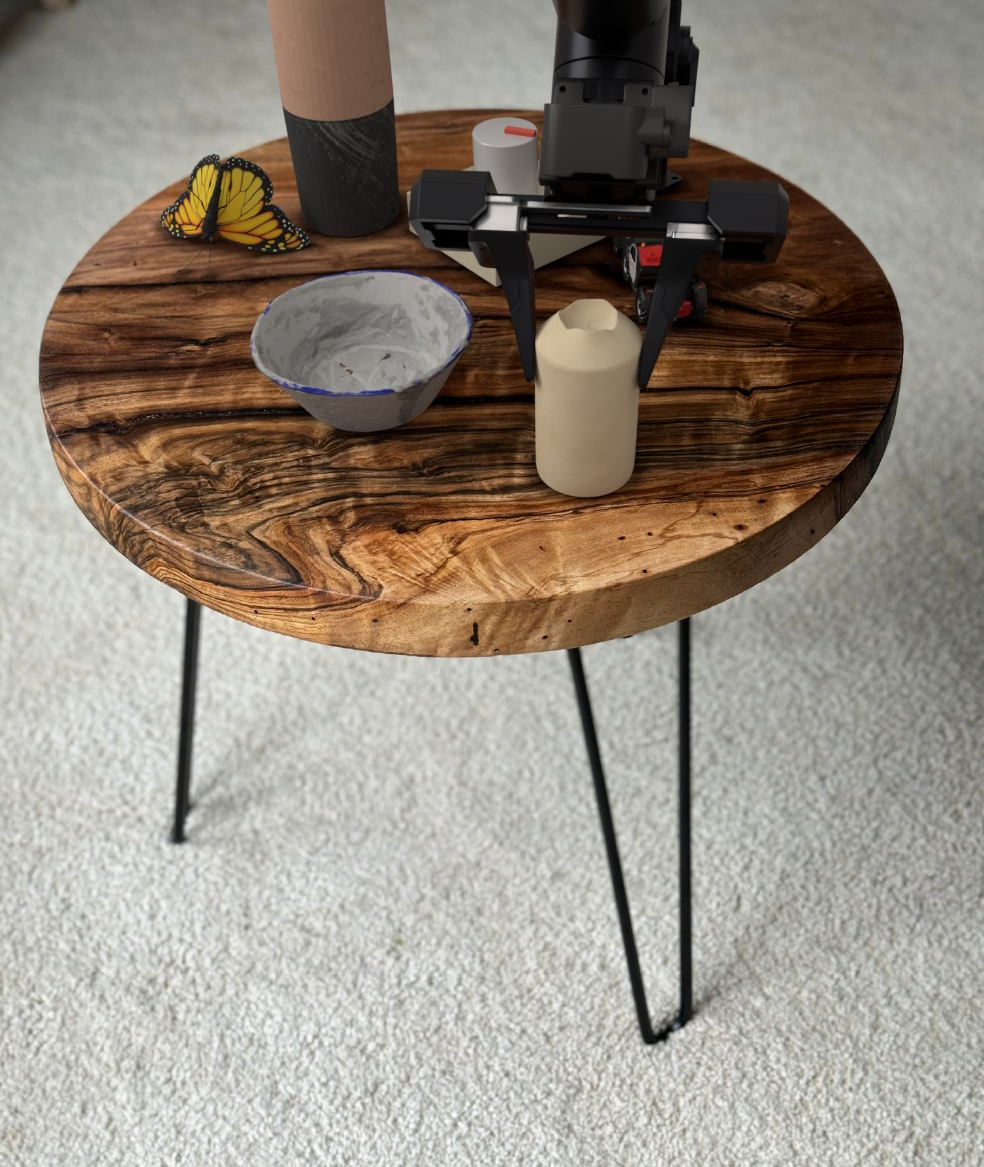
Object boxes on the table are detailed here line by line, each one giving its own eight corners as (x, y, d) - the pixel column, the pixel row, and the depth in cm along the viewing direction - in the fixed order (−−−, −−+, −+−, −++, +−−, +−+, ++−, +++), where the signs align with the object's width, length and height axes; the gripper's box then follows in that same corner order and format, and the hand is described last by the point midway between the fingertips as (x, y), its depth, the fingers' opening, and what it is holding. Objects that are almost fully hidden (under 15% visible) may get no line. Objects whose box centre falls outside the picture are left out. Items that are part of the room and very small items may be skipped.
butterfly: (266, 285, 82) (295, 305, 87) (295, 157, 82) (322, 184, 87) (110, 257, 85) (146, 278, 90) (138, 133, 85) (173, 161, 90)
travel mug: (414, 191, 92) (391, -102, 78) (388, 243, 87) (358, -62, 73) (316, 184, 94) (276, -106, 79) (285, 235, 88) (236, -66, 74)
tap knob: (465, 203, 85) (461, 136, 81) (488, 175, 87) (486, 108, 84) (524, 214, 83) (524, 146, 80) (547, 184, 86) (547, 117, 83)
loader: (609, 243, 86) (612, 180, 83) (674, 238, 86) (679, 175, 83) (640, 340, 78) (645, 274, 74) (712, 335, 78) (720, 268, 75)
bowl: (477, 328, 79) (474, 261, 76) (475, 456, 70) (472, 387, 67) (276, 333, 79) (264, 267, 76) (249, 461, 70) (234, 392, 67)
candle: (627, 504, 67) (637, 350, 60) (527, 492, 68) (525, 339, 61) (639, 440, 71) (650, 288, 63) (544, 430, 71) (544, 279, 64)
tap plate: (517, 186, 93) (516, 145, 90) (607, 237, 87) (608, 195, 85) (409, 230, 88) (405, 189, 86) (496, 287, 83) (494, 245, 80)
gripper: (399, 5, 56) (374, 347, 57) (816, 14, 54) (788, 369, 54) (438, 98, 67) (417, 384, 68) (786, 109, 65) (763, 404, 65)
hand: (585, 385), depth 63 cm, fingers closed on candle, 5 cm apart
